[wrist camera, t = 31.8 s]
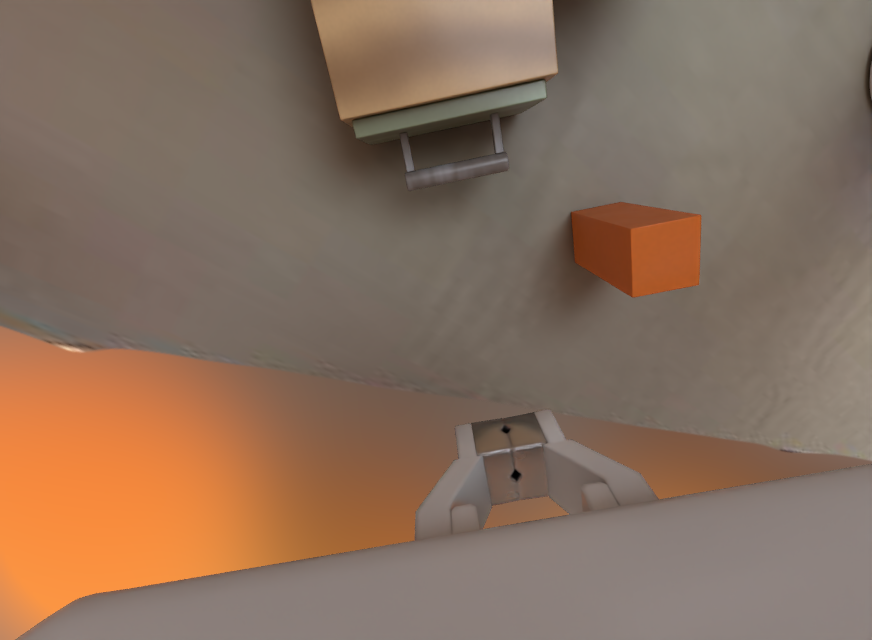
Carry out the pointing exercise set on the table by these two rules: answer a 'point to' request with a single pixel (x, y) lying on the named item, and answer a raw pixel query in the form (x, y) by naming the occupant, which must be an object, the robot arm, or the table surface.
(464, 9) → the cabinet
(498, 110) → the drawer
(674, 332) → the table surface
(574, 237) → the box
